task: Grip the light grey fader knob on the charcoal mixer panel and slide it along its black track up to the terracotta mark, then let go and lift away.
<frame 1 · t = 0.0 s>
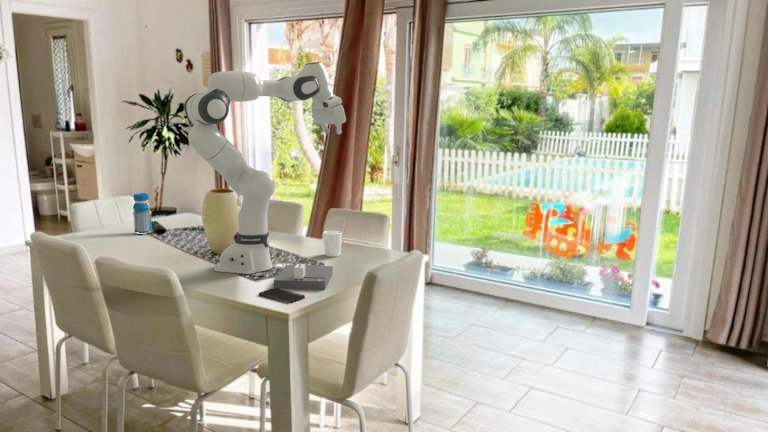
hand: (333, 133, 240), 52 cm above the table, tool tilted 20°, fingers open, 8 cm apart
phone: (281, 298, 193), on the table
fader knob: (299, 271, 204), point 5 cm above the table, slide at 0.0 cm
beverage bottle: (143, 234, 288), on the table
mixer panel: (304, 280, 211), on the table
white cup: (332, 255, 249), on the table
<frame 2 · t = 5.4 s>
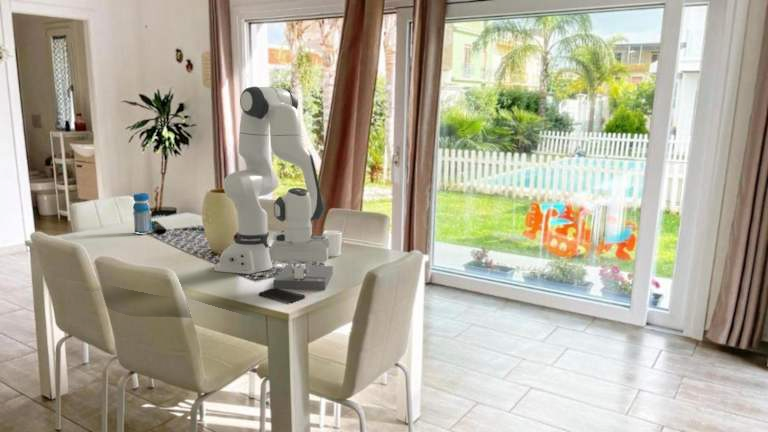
hand: (299, 273, 204), 5 cm above the table, tool pointing down, fingers closed on fader knob, 3 cm apart
fader knob: (299, 271, 204), point 5 cm above the table, slide at 0.0 cm, touching gripper
everything else where it was.
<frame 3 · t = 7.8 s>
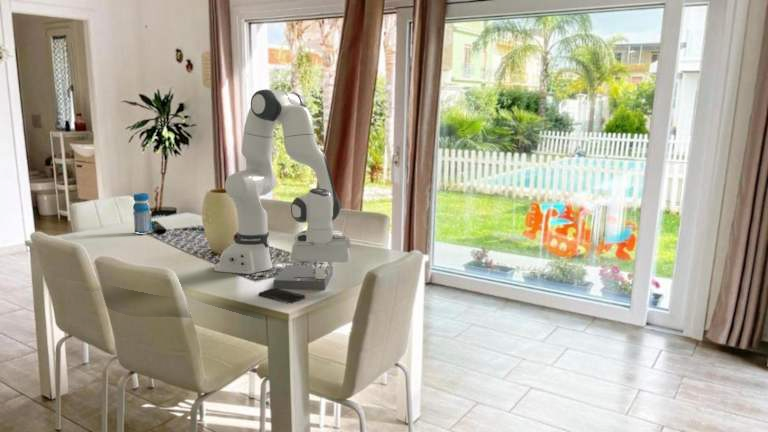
hand: (320, 273, 203), 5 cm above the table, tool pointing down, fingers closed on fader knob, 3 cm apart
fader knob: (320, 271, 203), point 5 cm above the table, slide at 7.5 cm, touching gripper
everything else where it was.
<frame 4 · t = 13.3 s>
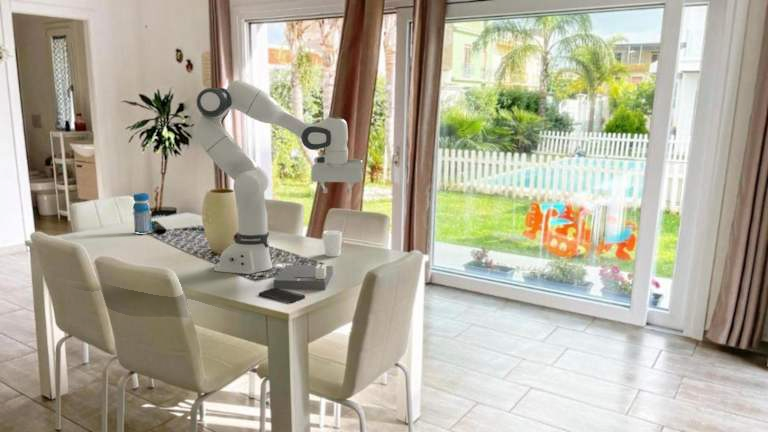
hand: (337, 193, 228), 29 cm above the table, tool pointing down, fingers open, 8 cm apart
fader knob: (321, 271, 203), point 5 cm above the table, slide at 7.5 cm
everything else where it was.
at the end: fader knob slide at 7.5 cm; the gripper is holding nothing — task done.
